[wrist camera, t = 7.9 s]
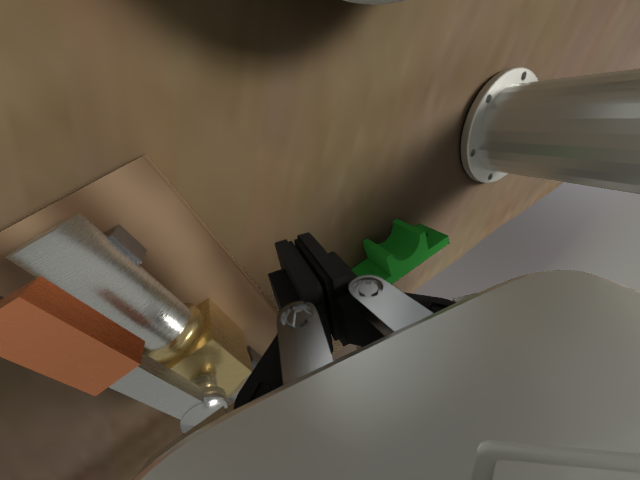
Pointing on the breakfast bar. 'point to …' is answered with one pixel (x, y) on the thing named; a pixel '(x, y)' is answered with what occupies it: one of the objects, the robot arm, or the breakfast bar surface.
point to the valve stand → (154, 245)
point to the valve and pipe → (139, 301)
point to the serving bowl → (372, 1)
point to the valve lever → (96, 353)
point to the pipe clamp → (400, 251)
